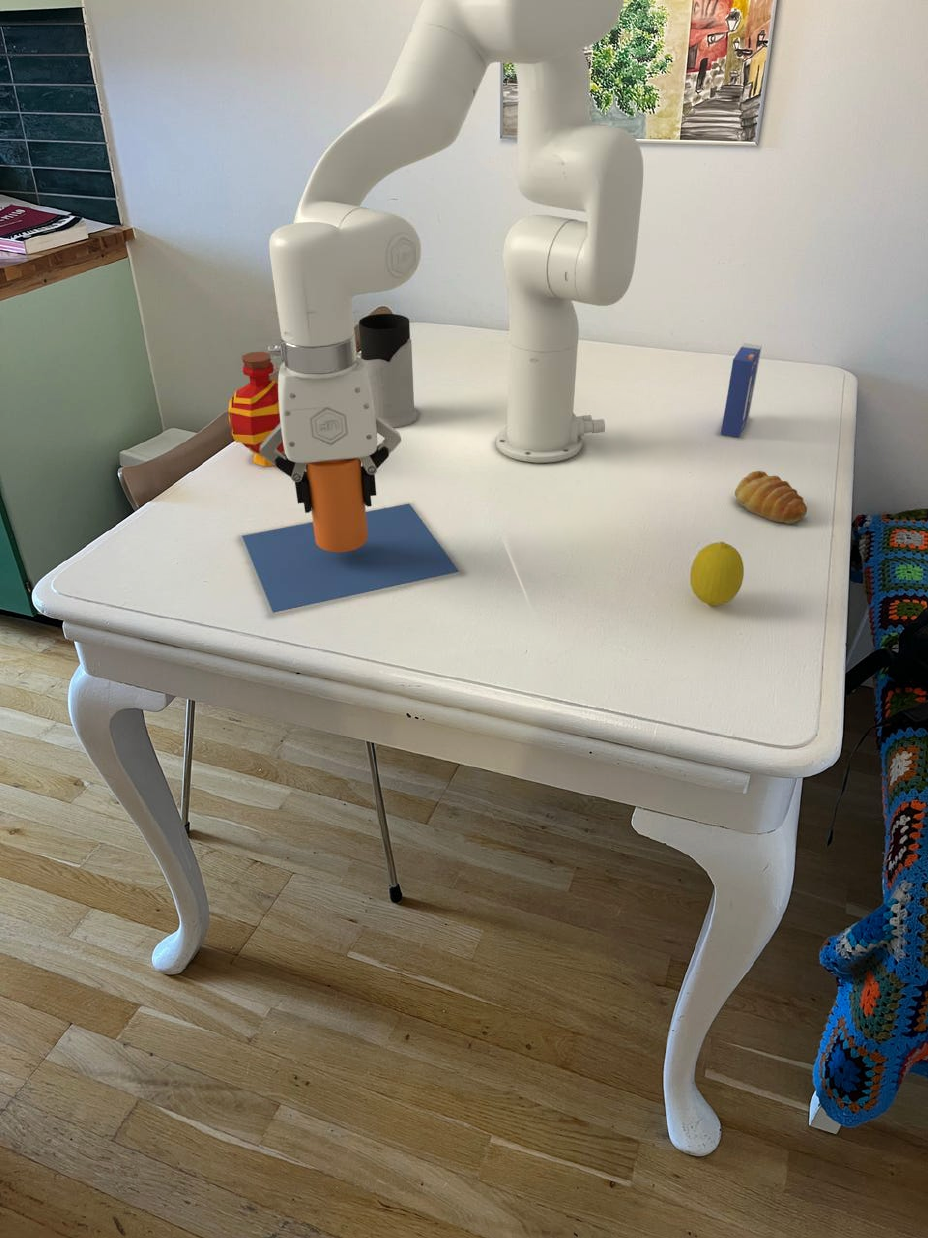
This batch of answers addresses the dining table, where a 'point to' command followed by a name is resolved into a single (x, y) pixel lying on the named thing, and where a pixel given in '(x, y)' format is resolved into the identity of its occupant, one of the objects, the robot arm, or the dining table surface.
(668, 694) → the dining table surface
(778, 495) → the pastry
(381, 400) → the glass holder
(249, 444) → the potion bottle
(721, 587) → the lemon
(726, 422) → the walkman
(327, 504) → the bottle
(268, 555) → the cloth
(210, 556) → the dining table surface
